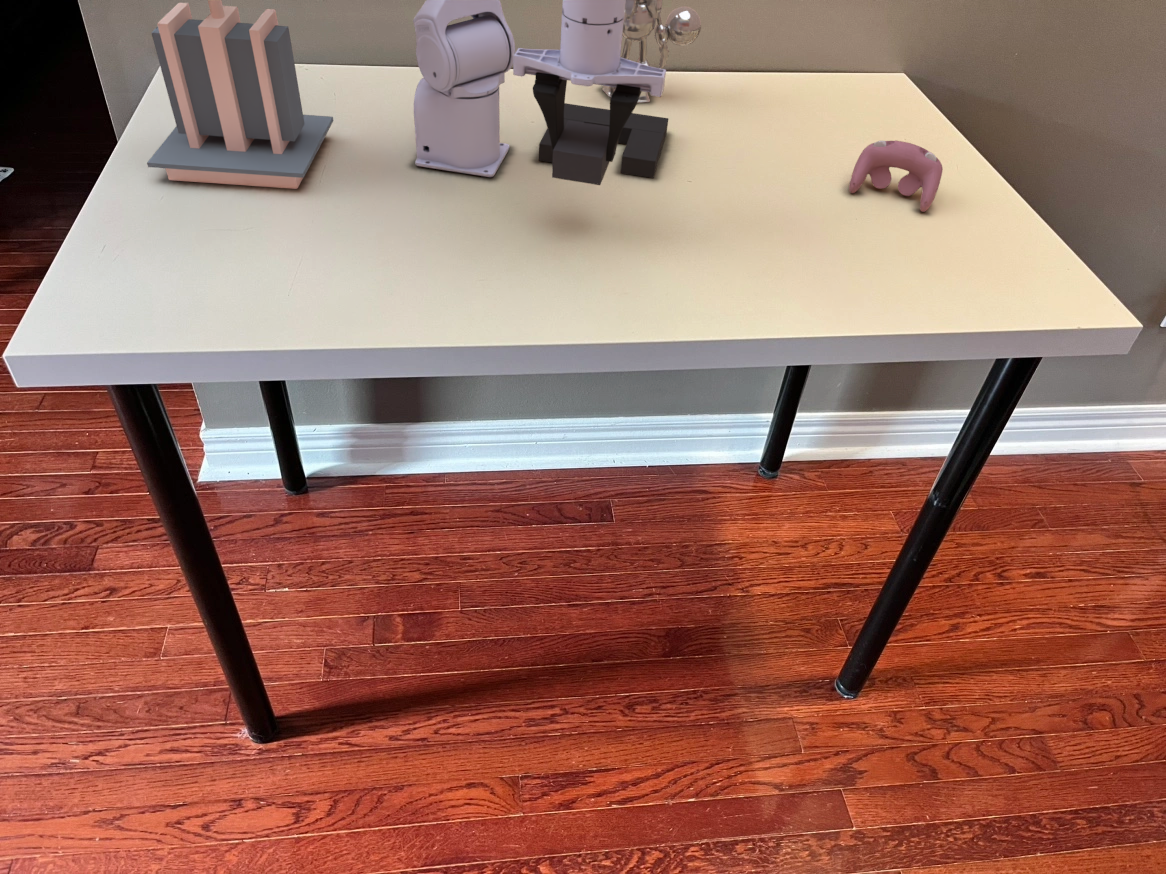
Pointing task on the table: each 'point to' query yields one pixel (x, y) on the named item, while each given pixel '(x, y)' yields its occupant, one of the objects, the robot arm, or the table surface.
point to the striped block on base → (233, 101)
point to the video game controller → (904, 156)
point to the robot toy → (640, 23)
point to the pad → (581, 153)
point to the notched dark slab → (620, 138)
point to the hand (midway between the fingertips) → (583, 152)
